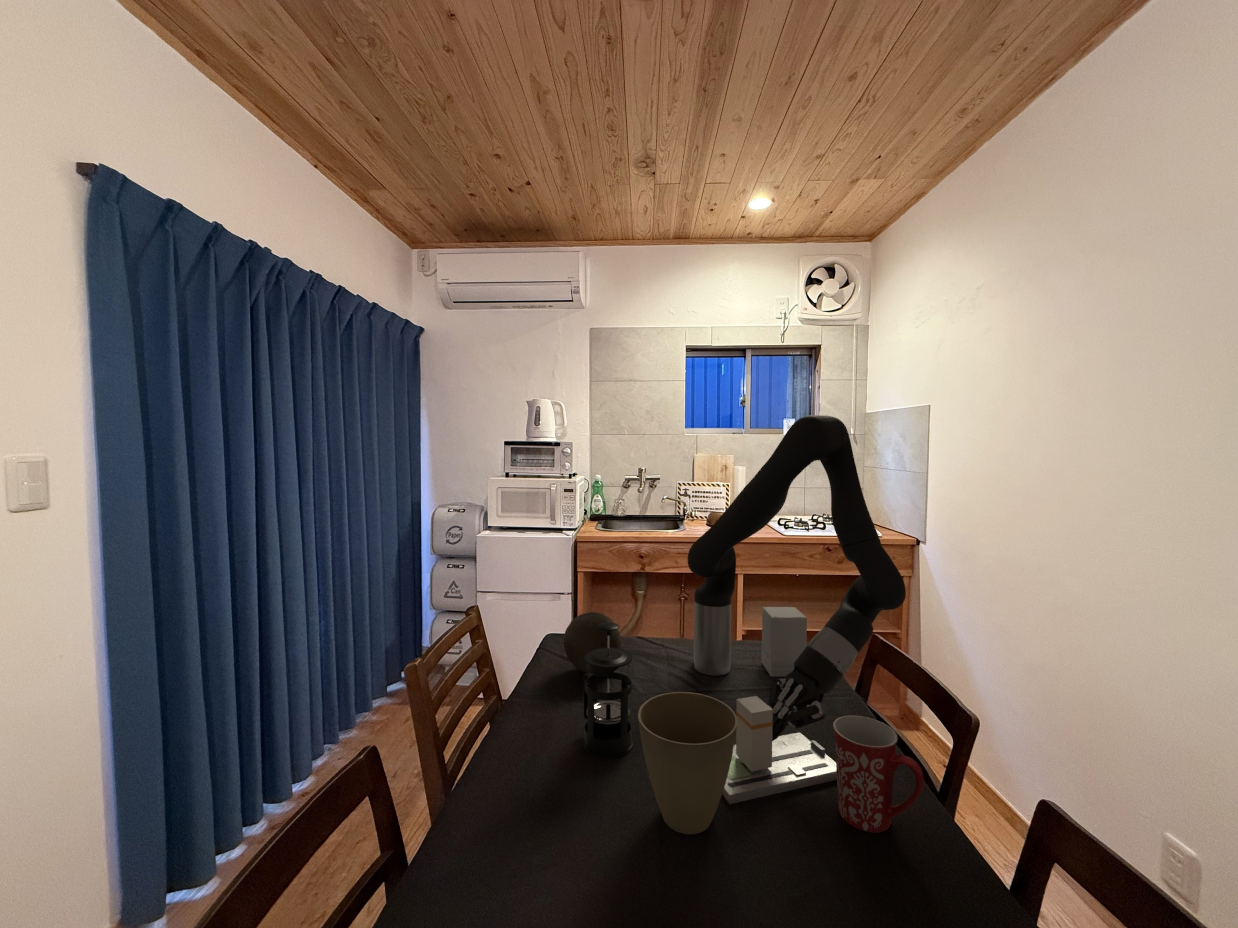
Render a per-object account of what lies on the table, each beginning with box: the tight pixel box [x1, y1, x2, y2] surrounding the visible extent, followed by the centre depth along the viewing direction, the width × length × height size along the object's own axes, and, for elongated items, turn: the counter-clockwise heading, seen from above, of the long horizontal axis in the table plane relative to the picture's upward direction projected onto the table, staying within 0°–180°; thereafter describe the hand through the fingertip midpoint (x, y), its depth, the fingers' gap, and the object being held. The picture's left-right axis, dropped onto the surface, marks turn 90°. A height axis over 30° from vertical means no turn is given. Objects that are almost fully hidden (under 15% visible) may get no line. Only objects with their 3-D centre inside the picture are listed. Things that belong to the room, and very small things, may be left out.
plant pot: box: [637, 691, 737, 835], centre depth 78 cm, size 15×15×16 cm
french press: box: [583, 622, 634, 760], centre depth 98 cm, size 12×9×23 cm
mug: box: [832, 714, 925, 834], centre depth 77 cm, size 13×9×14 cm
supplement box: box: [761, 606, 808, 678], centre depth 131 cm, size 9×9×15 cm
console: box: [722, 732, 837, 805], centre depth 90 cm, size 12×22×2 cm, turn 107°
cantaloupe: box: [563, 611, 622, 674], centre depth 128 cm, size 14×14×15 cm
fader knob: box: [735, 695, 773, 771], centre depth 89 cm, size 5×4×10 cm
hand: (766, 736), depth 90 cm, fingers closed
